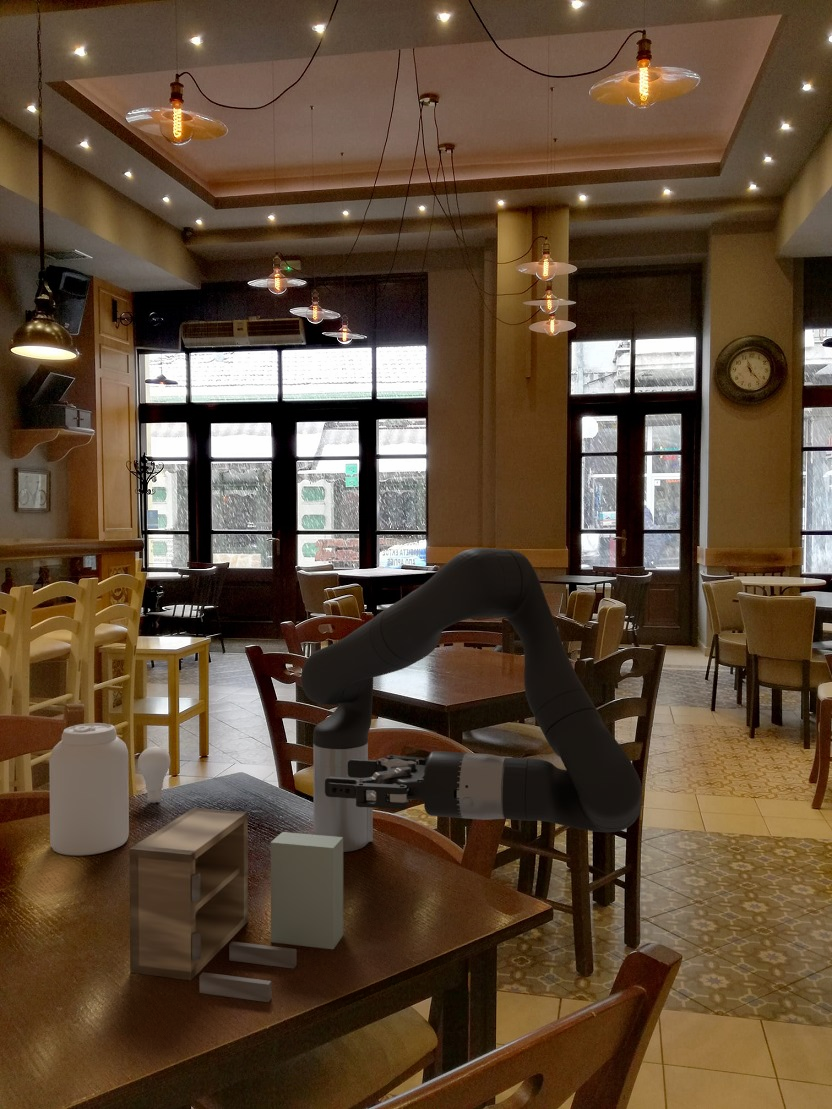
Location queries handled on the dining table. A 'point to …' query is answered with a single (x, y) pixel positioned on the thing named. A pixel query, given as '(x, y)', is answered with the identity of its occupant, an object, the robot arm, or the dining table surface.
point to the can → (89, 790)
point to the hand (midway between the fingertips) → (337, 776)
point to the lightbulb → (154, 770)
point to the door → (307, 890)
